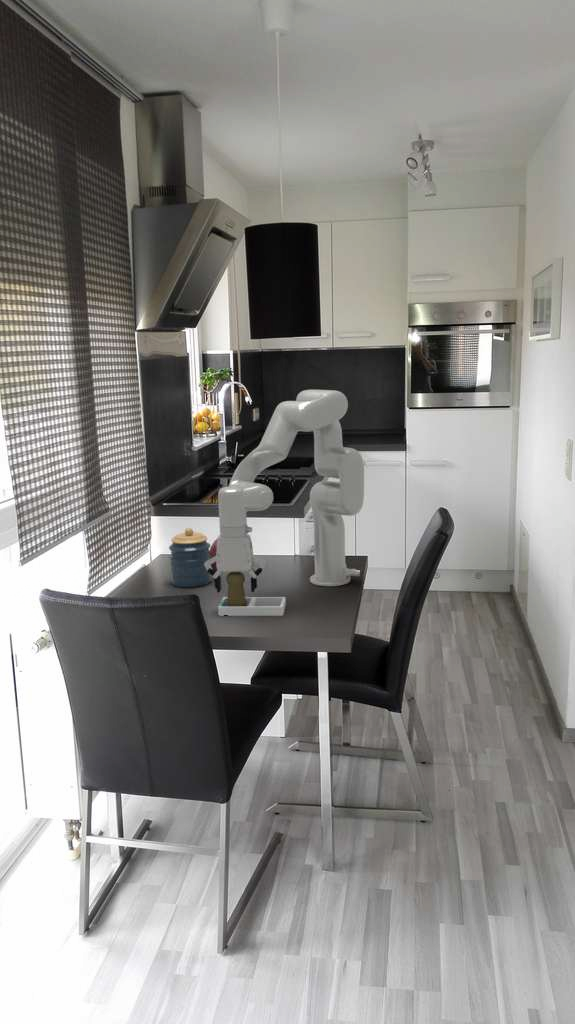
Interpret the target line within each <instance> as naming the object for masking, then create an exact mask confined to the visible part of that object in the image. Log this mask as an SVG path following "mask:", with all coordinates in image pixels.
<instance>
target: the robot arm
mask: <svg viewBox="0 0 575 1024" xmlns="http://www.w3.org/2000/svg"><path fill="white" fill-rule="evenodd" d="M348 405H349V403H348V399H347V396H346V395H345V394H344V393H343V392H341V391H338V390H333V389H332V390H331V389H330V390H329V389H305V390H302V391H300V392H299V393H297V396H296V399H295V400H286V401H281V402H280V403H279V404H278V405H277V406H276V407H275V409H274V412H273V413H272V416H271V418H270V420H269V422H268V425H267V427H266V429H265V432H264V434H263V435H262V438H261V441H260V442H259V444H258V446H257V447H255V448H254V449H253V450H252V451H251V452H250V453H249V454H247V456H245V458H243V459H242V460H241V462H240V463H239V464H238V465H237V467H236V469H235V470H234V472H233V475H232V477H231V479H230V481H229V484H228V486H224V487H221V488H220V489H219V490H218V493H217V494H218V496H217V498H218V499H217V500H218V501H217V502H218V518H219V535H218V536H217V538H218V540H217V551H216V556H215V557H213V558H211V559H209V560H207V561H206V562H205V563H204V566H205V567H206V569H207V570H208V573H210V574H211V575H212V578H213V580H214V589H215V590H216V593H220V592H221V590H222V577H221V573H231V572H241V573H248V574H249V575H250V576H251V577H250V592H251V593H254V592H255V590H256V589H258V576H259V575H260V574H261V573H262V572H263V570H264V568H265V566H266V564H267V561H265V560H264V559H262V558H260V557H257V556H255V555H254V551H253V550H254V549H253V542H252V537H251V534H249V533H253V526H252V527H250V526H248V520H247V519H248V518H247V517H248V516H247V513H248V512H259V511H264V510H267V509H268V508H269V507H270V506H271V505H272V504H273V502H274V493H273V491H272V489H271V488H270V487H269V486H267V485H265V484H262V483H257V482H254V481H255V479H256V478H257V476H258V475H259V474H260V473H261V472H262V471H264V470H265V469H267V468H269V467H271V466H273V465H276V464H279V463H281V462H282V461H284V460H285V459H286V458H287V457H288V455H289V452H290V449H291V448H292V445H293V443H294V441H295V439H296V436H297V435H298V432H304V433H305V432H313V439H314V440H313V442H314V443H313V447H314V448H313V450H314V454H313V458H314V459H313V460H314V461H313V463H314V470H315V472H316V473H317V474H318V475H319V476H322V477H326V478H332V479H339V482H338V481H330V480H321V481H319V482H316V483H315V484H313V486H312V488H311V489H310V492H309V503H310V506H311V512H312V519H313V547H314V549H313V551H314V574H313V575H311V576H310V577H309V582H310V583H311V584H313V585H315V586H319V587H320V586H321V587H338V586H339V587H340V586H343V585H347V584H348V583H350V582H351V577H360V576H361V573H360V572H361V570H360V569H356V568H348V567H347V564H346V538H345V537H346V534H345V533H346V531H345V530H346V529H345V522H344V518H343V516H347V517H352V516H355V515H358V514H359V513H360V511H361V510H362V508H363V505H364V500H365V498H364V497H365V463H364V459H363V456H362V455H361V452H359V451H358V450H357V449H355V448H352V447H346V446H345V447H344V445H343V431H342V430H343V429H342V425H341V423H340V421H339V420H341V419H342V418H343V417H344V416H345V415H346V412H347V411H348V408H349V406H348ZM214 562H216V567H217V571H215V570H214V569H213V568H212V567H211V564H212V563H214ZM255 563H256V564H258V565H259V567H258V568H257V569H255V568H254V565H255Z"/></svg>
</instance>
